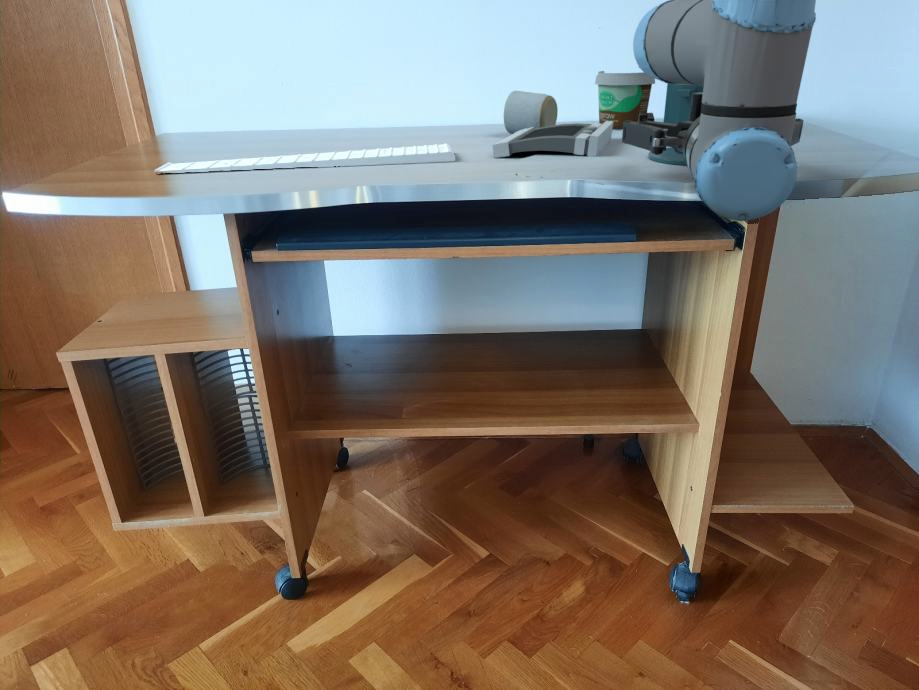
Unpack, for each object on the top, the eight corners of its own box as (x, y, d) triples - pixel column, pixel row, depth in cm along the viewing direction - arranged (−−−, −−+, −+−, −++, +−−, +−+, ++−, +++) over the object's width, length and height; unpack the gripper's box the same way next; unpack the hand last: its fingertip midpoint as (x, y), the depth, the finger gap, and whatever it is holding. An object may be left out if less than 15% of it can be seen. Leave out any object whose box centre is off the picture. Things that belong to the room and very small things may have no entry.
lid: (753, 158, 91) (764, 90, 88) (724, 173, 83) (735, 98, 79) (668, 151, 99) (675, 88, 95) (633, 165, 90) (638, 96, 86)
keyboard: (153, 175, 95) (150, 165, 94) (170, 166, 102) (168, 156, 101) (455, 161, 97) (454, 150, 97) (451, 152, 105) (451, 142, 104)
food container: (579, 127, 127) (582, 72, 123) (598, 123, 131) (601, 70, 127) (632, 132, 119) (637, 73, 115) (651, 128, 123) (656, 71, 118)
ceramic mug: (542, 138, 115) (544, 92, 112) (502, 136, 119) (502, 92, 116) (565, 131, 123) (567, 88, 120) (526, 130, 127) (527, 88, 124)
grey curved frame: (598, 136, 93) (490, 126, 97) (593, 168, 95) (488, 157, 99) (613, 121, 107) (519, 113, 112) (609, 150, 109) (517, 140, 114)
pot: (743, 128, 118) (751, 78, 115) (711, 141, 107) (719, 86, 103) (682, 125, 125) (687, 78, 121) (645, 136, 113) (650, 85, 110)
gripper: (596, 185, 69) (603, 152, 88) (851, 188, 64) (801, 153, 82) (601, 112, 66) (606, 93, 85) (870, 109, 61) (813, 90, 79)
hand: (702, 123), depth 84 cm, fingers open, 13 cm apart
